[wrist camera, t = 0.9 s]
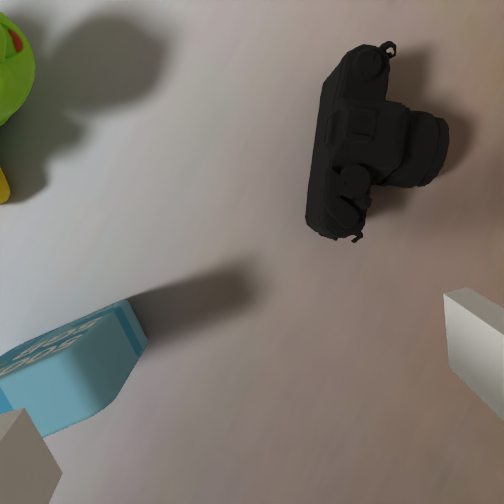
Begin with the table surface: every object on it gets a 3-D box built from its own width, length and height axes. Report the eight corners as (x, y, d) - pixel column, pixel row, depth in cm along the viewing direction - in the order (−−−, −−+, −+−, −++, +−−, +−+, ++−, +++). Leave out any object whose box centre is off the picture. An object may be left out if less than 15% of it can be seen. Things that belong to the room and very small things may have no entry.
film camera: (393, 244, 34) (451, 258, 25) (295, 232, 33) (319, 241, 24) (423, 81, 32) (496, 33, 23) (319, 63, 32) (355, 7, 23)
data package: (131, 295, 33) (76, 345, 21) (152, 337, 34) (111, 409, 22) (13, 347, 33) (-109, 427, 21) (36, 388, 34) (-69, 488, 22)
